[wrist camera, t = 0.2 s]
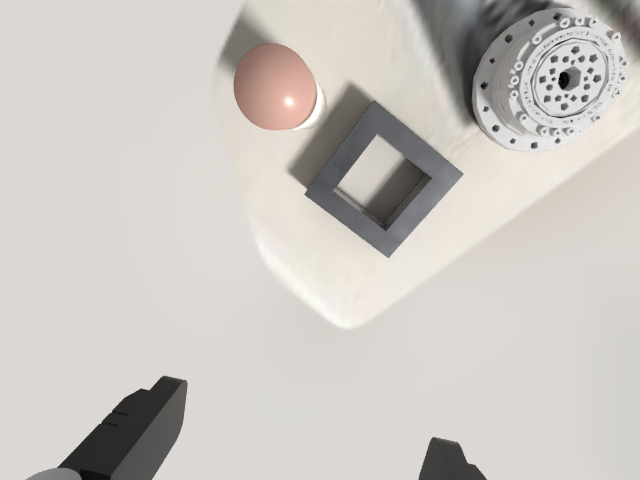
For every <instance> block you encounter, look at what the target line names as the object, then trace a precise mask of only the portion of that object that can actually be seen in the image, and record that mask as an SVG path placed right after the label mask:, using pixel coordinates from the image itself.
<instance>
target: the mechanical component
mask: <svg viewBox="0 0 640 480" xmlns="http://www.w3.org/2000/svg"><path fill="white" fill-rule="evenodd" d="M620 38H621V36H620V33H614V31H613V30H612V29H611V28H610V27H609V26H607V25H605V24H604V23H602V22H600V21H599V20H598V18H596V17H592V16H591V15H590V14H588V13H585V12H582V11H579V10H576V9H572V8H552V9H547V10H542V11H537V12H535V13H533V14H531V15H529V16H527V17H525V18H524V19H522V20H520V21H518V22H516V23H514V24H513V25H512V26H510V27H509V28H507V29H506V30H504V31H503V32H502V33H501V34H500V35H499V36H498V37H497V38H496V39H495V40H494V41H493V42H492V43H491V45H490V46H489V48H488V49H487V51H486V52H485V53H484V55H483V56H482V58H481V61H480V63H479V66H478V68H477V70H476V73H475V75H474V78H473V89H472V105H473V112H474V114H475V117H476V119H477V122H478V124H479V127H480V128H481V129H482V130H483V131H484V132H485V133H486V135H487V136H488V137H489V138H490V139H491V140H492V141H494V142H496V143H497V144H499V145H500V146H502V147H504V148H505V149H510V150H515V151H520V152H530V153H538V152H545V151H551V150H554V149H556V148H559V147H562V146H565V145H567V144H569V143H570V142H572V141H574V140H575V139H577V138H578V137H580V136H581V135H583V134H584V133H585V132H586V131H587V130H588V129H589V128H590V127H591V126H592V125H594V124H595V122H599V121H600V120H601V119H602V116H603V115H604V114H605V113H606V112H607V110H608V109H609V108H610V107H611V106H612V104H613V103H614V101H615V99H616V98H618V97H619V96H621V94H622V90H621V86H622V83H624V82H625V81H626V80H627V78H628V77H627V75H626V74H625V68H626V67H628V65H629V60H628V59H626V55H625V52H624V49H623V46H622V44H621V41H620ZM505 39H506V42H505ZM561 72H562V73H563V79H564V83H563V82H561V80H559V75H560V73H561ZM481 84H483V85H484V86H483V89H482V88H481V86H480V85H481ZM561 87H563V88H562V90H561ZM493 126H494V130H492V127H493ZM531 144H532V145H531Z"/></svg>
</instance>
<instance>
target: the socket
mask: <svg viewBox="0 0 640 480" xmlns="http://www.w3.org/2000/svg"><path fill="white" fill-rule="evenodd" d="M376 134H377V135H378V136H379V137H380V138H382V139H383V140H384V141H385V142H387V143H388V144H389V145H390V146H392V147H393V148H394V149H395V150H397V151H398V152H399V153H400V154H401V155H403V156H404V157H405V158H406V159H408V160H409V161H410V162H411V163H413V164H414V165H415V166H416V167H418V168H419V169H420V170H421V171H422V172H424V173H425V175H424V177H423V178H422V179H421V180H420V181H419V182H418V184H417V185H416V186H415V187H414V188H413V189H412V191H411V192H410V193H409V194H408V195H407V196H406V198H405V199H404V200H403V201H402V202H401V203H400V205H399V206H398V207H397V208H396V209H395V210H394V212H393V213H392V214H391V215H390V216H389V217H388V219H387V220H386V221H385V222H384V223H382V222H380V221H379V220H378V219H377V218H375V217H374V216H373V215H371V214H370V213H369V212H367V211H366V210H365V209H364V208H362V207H361V206H360V205H358V204H357V203H356V202H355V201H353V200H352V199H351V198H349V197H348V196H347V195H345V194H344V193H343V192H342V191H340V190H339V189H338V188H336V186H337V185H338V184H339V182H340V181H341V180H342V178H343V177H344V176H345V175H346V173H347V172H348V171H349V169H350V168H351V167H352V166H353V164H354V163H355V162H356V160H357V159H358V158H359V156H360V155H361V154H362V153H363V151H364V150H365V149H366V147H367V146H368V145H369V144H370V142H371V141H372V140H373V138H374V137H375V136H376ZM462 175H463V173H462V172H461V171H460V170H458V169H457V168H456V167H455V166H453V165H452V164H451V163H450V162H449V161H447V160H446V159H445V158H444V157H443V156H441V155H440V154H439V153H438V152H436V151H435V150H434V149H433V148H432V147H430V146H429V145H428V144H427V143H426V142H424V141H423V140H422V139H421V138H419V137H418V136H417V135H416V134H415V133H413V132H412V131H411V130H410V129H409V128H407V127H406V126H405V125H404V124H402V123H401V122H400V121H399V120H398V119H396V118H395V117H394V116H393V115H392V114H390V113H389V112H388V111H387V110H385V109H384V108H383V107H382V106H381V105H379V104H378V103H377V102H376V101H375V100H374V101H373V102H372V104H371V105H370V106H369V108H368V109H367V110H366V112H365V113H364V114H363V116H362V117H361V118H360V120H359V121H358V122H357V124H356V125H355V126H354V128H353V129H352V130H351V132H350V133H349V135H348V136H347V137H346V139H345V140H344V141H343V143H342V144H341V145H340V147H339V148H338V149H337V151H336V152H335V153H334V155H333V156H332V157H331V159H330V160H329V161H328V163H327V164H326V165H325V167H324V168H323V169H322V171H321V172H320V173H319V175H318V176H317V178H316V179H315V180H314V182H313V183H312V184H311V186H310V187H309V188H308V190H307V191H306V193H305V194H304V195H306V196H307V197H308V198H310V199H311V200H312V201H314V202H315V203H316V204H317V205H319V206H320V207H321V208H323V209H324V210H325V211H327V212H328V213H329V214H331V215H332V216H333V217H335V218H336V219H337V220H339V221H340V222H341V223H343V224H344V225H345V226H347V227H348V228H349V229H351V230H352V231H353V232H355V233H356V234H357V235H358V236H360V237H361V238H362V239H364V240H365V241H366V242H368V243H369V244H370V245H372V246H373V247H374V248H376V249H377V250H378V251H380V252H381V253H382V254H384V255H385V256H386V257H388V258H389V257H390V256H391V255H392V253H393V252H394V251H395V250H396V249H397V248H398V247H399V246H400V245H401V243H402V242H403V241H404V240H405V239H406V238H407V237H408V236H409V234H410V233H411V232H412V231H413V230H414V229H415V228H416V227H417V226H418V224H419V223H420V222H421V221H422V220H423V219H424V218H425V217H426V216H427V214H428V213H429V212H430V211H431V210H432V209H433V208H434V207H435V206H436V204H437V203H438V202H439V201H440V200H441V199H442V198H443V197H444V195H445V194H446V193H447V192H448V191H449V190H450V189H451V188H452V187H453V185H454V184H455V183H456V182H457V181H458V180H459V179H460V178H461V177H462Z"/></svg>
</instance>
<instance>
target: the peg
mask: <svg viewBox="0 0 640 480" xmlns="http://www.w3.org/2000/svg"><path fill="white" fill-rule="evenodd" d="M234 94H235V98H236V101H237V104H238V106H239V108H240V110H241V111H242V113H243V114H244V116H245V117H246V118H247V119H248V120H249V121H251V122H252V123H253V124H255V125H257V126H259V127H261V128H264V129H268V130H305V129H310V128H313V127H315V126H316V125H318V124H319V123H320V122H321V121H322V119H323V118H324V116H325V113H326V110H327V98H326V95H325V92H324V90H323V89H322V87H321V86H320V84H319V83H318V81H317V80H316V78H315V77H314V76H313V74H312V73H311V71H310V70H309V68H308V67H307V65H306V64H305V62H304V61H303V60H302V58H301V57H300V56H299V55H298V54H297V53H296V52H294V51H293V50H292V49H290V48H288V47H286V46H283V45H279V44H264V45H260V46H258V47H255V48H254V49H252V50H251V51H249V52H248V53H247V54H246V55H245V56H244V57H243V58H242V60H241V61H240V63H239V65H238V67H237V70H236V72H235V77H234Z"/></svg>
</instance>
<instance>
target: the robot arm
mask: <svg viewBox="0 0 640 480" xmlns="http://www.w3.org/2000/svg"><path fill="white" fill-rule="evenodd" d="M186 394H187V381H186V380H181V379H177V378H172V377H168V376H163V377H161V378H160V379H159V380H158V382H157V383H156V384H155V385H154V386H153V387H152V388H151V389H150V390H145V389H140V390H138V391H136V392H135V393H133V394H131V395H129V396H127V397H125V398H124V399H123V400H122V401H121V402H120V403H119V404H118V405H117V406H116V407H115V408H114V409H113V411H112V413H110V414H109V415H108V416H107V417H106V418H105V419H104V420H103V421H102V423H101V424H99V425H98V426H97V427H96V428H95V429H94V430H93V431H92V432H91V433H90V434H89V435H88V436H87V437H86V438H85V439H84V441H83V442H82V443H81V444H80V445H79V446H78V447H77V448H76V449H75V450H74V451H73V452H72V453H71V454H70V455H69V456H68V457H67V458H66V459H65V460H64V461H63V462H62V463H61V464H60V465H59V466H58V467H57V468H54V469H49V470H46V471H43V472H40V473H37V474H35V475H33V476H31V477H29V478H28V479H26V480H152V479H153V477H154V475H155V474H156V472H157V471H158V469H159V467H160V466H161V464H162V463H163V461H164V459H165V458H166V456H167V455H168V453H169V451H170V450H171V448H172V447H173V445H174V443H175V442H176V440H177V438H178V435H179V433H180V430H181V427H182V424H183V418H184V409H185V402H186ZM419 480H487V479H486V478H485V477H484V475H483V474H482V473H481V472H480V471H479V469H478V468H477V467H476V466H475V465H473V464H468V463H467V461H466V459H465V456H464V454H463V451H462V449H461V446H460V445H459V443H457V442H454V441H449V440H445V439H440V438H436V437H433V438H432V439H431V441H430V443H429V447H428V450H427V453H426V456H425V459H424V462H423V466H422V469H421V472H420V475H419Z"/></svg>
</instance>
